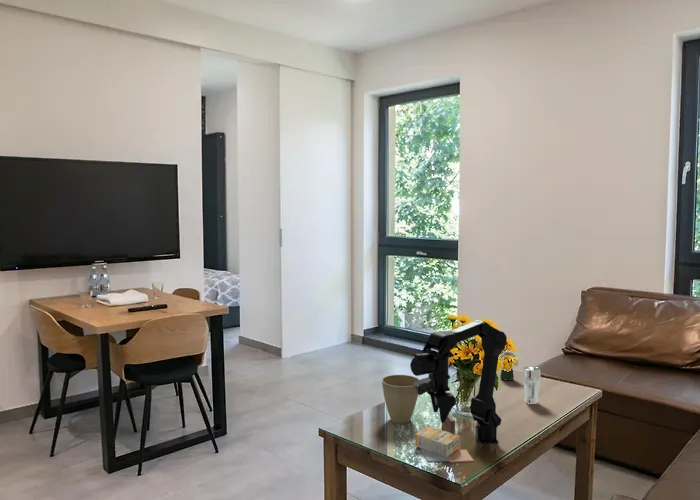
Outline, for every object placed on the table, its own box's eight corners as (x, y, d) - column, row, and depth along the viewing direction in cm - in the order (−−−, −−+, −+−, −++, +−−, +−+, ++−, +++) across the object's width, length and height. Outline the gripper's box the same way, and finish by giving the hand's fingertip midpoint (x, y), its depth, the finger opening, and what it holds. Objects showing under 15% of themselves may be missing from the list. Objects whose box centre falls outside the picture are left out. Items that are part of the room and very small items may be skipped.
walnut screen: (450, 432, 202) (450, 408, 201) (459, 445, 190) (460, 420, 189) (436, 432, 201) (437, 408, 201) (445, 446, 189) (445, 421, 189)
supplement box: (428, 424, 194) (460, 435, 185) (428, 437, 195) (460, 448, 186) (414, 433, 188) (447, 444, 179) (415, 446, 189) (447, 458, 180)
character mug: (521, 380, 263) (521, 354, 262) (513, 384, 258) (513, 357, 257) (501, 376, 271) (501, 350, 270) (493, 378, 266) (493, 352, 265)
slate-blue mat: (449, 447, 189) (449, 446, 189) (457, 460, 179) (457, 459, 179) (420, 448, 188) (420, 447, 188) (427, 462, 178) (427, 460, 178)
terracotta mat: (466, 450, 186) (466, 449, 186) (473, 461, 178) (473, 460, 178) (443, 451, 185) (443, 450, 185) (449, 462, 177) (449, 461, 177)
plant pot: (375, 423, 210) (375, 383, 209) (389, 411, 223) (390, 372, 222) (412, 430, 203) (413, 388, 202) (424, 417, 217) (425, 377, 216)
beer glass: (541, 402, 234) (542, 367, 233) (537, 407, 228) (538, 371, 227) (525, 399, 238) (525, 365, 237) (520, 403, 232) (521, 369, 231)
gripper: (409, 363, 190) (409, 407, 191) (422, 380, 171) (421, 428, 172) (441, 363, 191) (440, 406, 192) (457, 379, 172) (456, 427, 173)
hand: (439, 417), depth 182 cm, fingers open, 9 cm apart
